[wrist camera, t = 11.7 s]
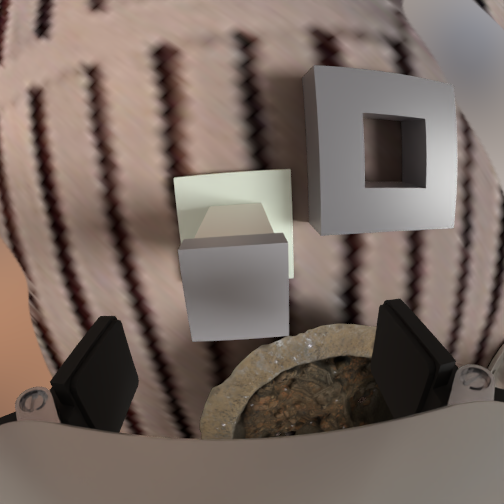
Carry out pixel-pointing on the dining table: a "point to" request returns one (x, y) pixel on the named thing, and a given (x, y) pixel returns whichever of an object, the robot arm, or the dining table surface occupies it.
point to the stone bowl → (299, 387)
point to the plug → (236, 276)
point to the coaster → (236, 199)
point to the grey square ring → (353, 160)
